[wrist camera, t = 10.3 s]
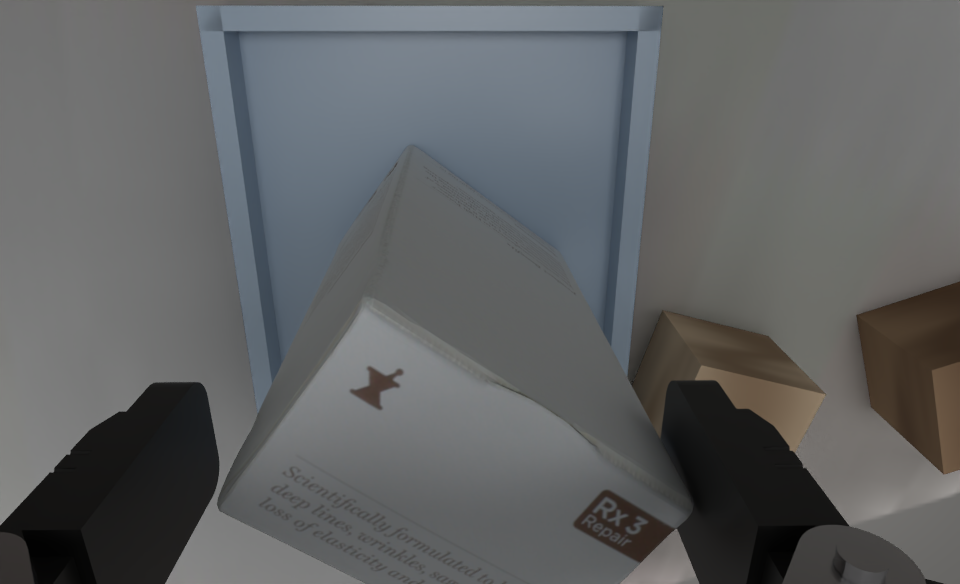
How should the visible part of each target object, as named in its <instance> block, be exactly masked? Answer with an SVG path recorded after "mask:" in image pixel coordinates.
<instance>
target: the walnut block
mask: <svg viewBox="0 0 960 584" xmlns="http://www.w3.org/2000/svg"><path fill="white" fill-rule="evenodd" d="M857 321H858V328H859V334H860V340H861V346H862V353H863V359H864V365H865V371H866V378H867V384H868V390H869V396H870V402H871V407H872V408H873V409H874V410H875V411H876V412H877V413H878V414H879V415H880V416H881V417H882V418H884V419H885V420H886V421H887V422H888V423H889V424H890V425H891V426H892V427H893V428H894V429H895V430H896V431H898V432H899V433H900V434H901V435H902V436H903V437H904V438H905V439H906V440H907V441H908V442H909V443H910V444H912V445H913V446H914V447H915V448H916V449H917V450H918V451H919V452H920V453H921V454H922V455H923V456H924V457H925V458H927V459H928V460H929V461H930V462H931V463H932V464H933V465H934V466H935V467H936V468H937V469H938V470H939V471H941V472H942V473H943V474H947V473H951V472H954V471H957V470H960V282H957V283H954V284H951V285H948V286H945V287H942V288H939V289H935V290H932V291H929V292H926V293H923V294H920V295H917V296H914V297H911V298H908V299H905V300H902V301H899V302H896V303H893V304H890V305H887V306H883V307H880V308H877V309H874V310H871V311H868V312H865V313H862V314H859V315H857Z"/></svg>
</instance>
